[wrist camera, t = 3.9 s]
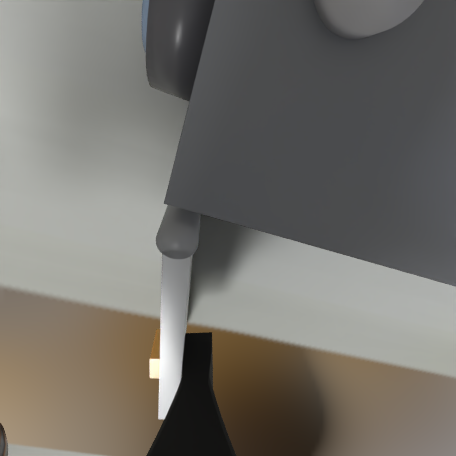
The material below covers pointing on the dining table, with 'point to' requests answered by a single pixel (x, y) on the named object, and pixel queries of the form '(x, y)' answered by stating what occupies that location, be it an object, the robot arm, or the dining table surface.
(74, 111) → the dining table surface
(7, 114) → the dining table surface
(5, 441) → the brown ribbed ovoid
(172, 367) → the side door
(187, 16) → the camera body
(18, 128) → the dining table surface
